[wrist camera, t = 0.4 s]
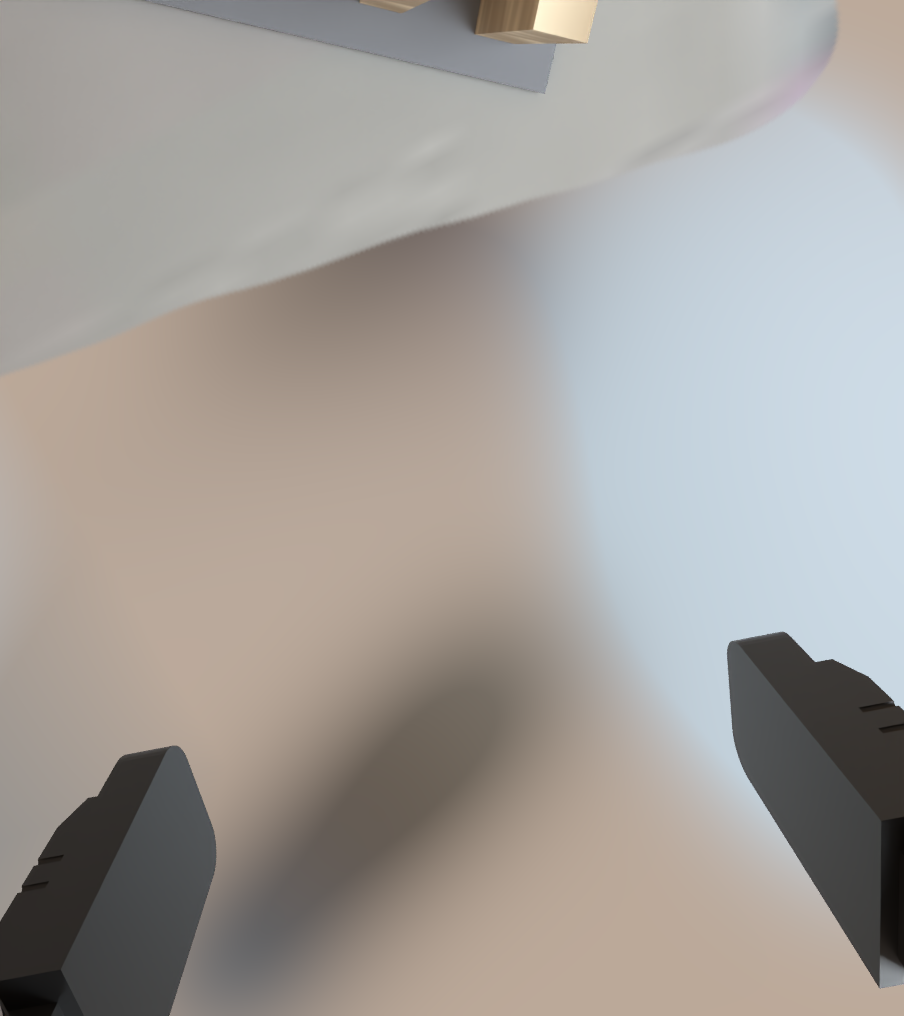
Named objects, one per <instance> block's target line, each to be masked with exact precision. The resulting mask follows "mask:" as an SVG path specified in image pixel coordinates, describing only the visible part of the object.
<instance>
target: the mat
mask: <svg viewBox="0 0 904 1016" xmlns="http://www.w3.org/2000/svg"><path fill="white" fill-rule="evenodd" d="M145 1H150V2H154V3H158V4H163V5H167V6H171V7H175V8H180V9H184V10H188V11H193V12H197V13H201V14H205V15H210V16H214V17H218V18H223V19H227V20H231V21H235V22H240V23H244V24H248V25H253V26H257V27H261V28H265V29H270V30H274V31H278V32H282V33H287V34H291V35H295V36H300V37H304V38H308V39H312V40H317V41H321V42H325V43H330V44H334V45H338V46H342V47H347V48H351V49H355V50H360V51H364V52H368V53H372V54H377V55H381V56H385V57H390V58H394V59H398V60H402V61H407V62H411V63H415V64H420V65H424V66H428V67H432V68H437V69H441V70H445V71H450V72H454V73H458V74H462V75H467V76H471V77H475V78H479V79H484V80H488V81H492V82H497V83H501V84H505V85H509V86H514V87H518V88H522V89H527V90H531V91H535V92H539V93H544V94H545V90H546V86H547V82H548V77H549V73H550V69H551V64H552V60H553V56H554V51H555V47H556V44H512V43H508V42H504V41H500V40H495V39H491V38H487V37H483V36H479V35H475V29H476V23H477V18H478V13H479V7H480V2H481V0H429V1H427V2H425V3H423V4H421V5H419V6H416V7H414V8H412V9H410V10H408V11H406V12H403V13H398V12H394V11H390V10H385V9H381V8H377V7H373V6H369V5H365V4H361V3H359V1H360V0H145Z"/></svg>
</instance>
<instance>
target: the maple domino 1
mask: <svg viewBox="0 0 904 1016" xmlns="http://www.w3.org/2000/svg"><path fill="white" fill-rule="evenodd" d="M427 1H429V0H360V1H359V3H361V4H365V5H369V6H373V7H377V8H381V9H385V10H390V11H394V12H398V13H403V12H406V11H408V10H410V9H412V8H414V7H416V6H419V5H421V4H423V3H425V2H427Z"/></svg>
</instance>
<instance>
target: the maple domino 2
mask: <svg viewBox="0 0 904 1016" xmlns="http://www.w3.org/2000/svg"><path fill="white" fill-rule="evenodd" d="M597 2H598V0H481V2H480V7H479V13H478V18H477V23H476V29H475V35H479V36H483V37H487V38H491V39H495V40H500V41H504V42H508V43H512V44H559V43H587V42H588V38H589V34H590V30H591V26H592V22H593V18H594V14H595V10H596V6H597Z"/></svg>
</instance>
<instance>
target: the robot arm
mask: <svg viewBox="0 0 904 1016" xmlns="http://www.w3.org/2000/svg"><path fill="white" fill-rule="evenodd" d="M727 659H728V674H729V687H730V701H731V715H732V729H733V736H734V742H735V746H736V750H737V753H738V756H739V759H740V762H741V764H742V767H743V769H744V771H745V773H746V775H747V777H748V779H749V780H750V782H751V783H752V785H753V786H754V788H755V790H756V791H757V793H758V795H759V796H760V798H761V799H762V801H763V803H764V804H765V806H766V807H767V809H768V811H769V812H770V814H771V815H772V817H773V819H774V820H775V822H776V823H777V825H778V827H779V828H780V830H781V831H782V833H783V835H784V836H785V838H786V839H787V841H788V843H789V844H790V846H791V847H792V849H793V850H794V852H795V854H796V855H797V857H798V859H799V860H800V862H801V863H802V865H803V867H804V868H805V870H806V871H807V873H808V875H809V876H810V878H811V879H812V881H813V882H814V884H815V886H816V887H817V889H818V891H819V892H820V894H821V895H822V897H823V899H824V900H825V902H826V903H827V905H828V907H829V908H830V910H831V911H832V913H833V915H834V916H835V918H836V919H837V921H838V923H839V924H840V926H841V927H842V929H843V931H844V932H845V934H846V935H847V937H848V939H849V940H850V942H851V943H852V945H853V947H854V948H855V950H856V951H857V953H858V954H859V956H860V958H861V959H862V961H863V963H864V964H865V966H866V967H867V969H868V971H869V972H870V974H871V975H872V977H873V979H874V980H875V982H876V983H877V985H878V986H879V988H885V987H891V986H896V985H902V984H904V710H903V709H902V708H900V707H899V706H895V704H894V701H893V700H892V699H891V698H890V697H889V696H888V695H887V694H886V693H885V692H884V691H883V690H881V688H880V687H879V686H878V685H876V684H875V683H874V682H873V681H872V680H871V679H870V678H869V677H868V676H866V675H864V674H862V673H859V672H857V671H855V670H853V669H851V668H849V667H847V666H845V665H843V664H841V663H839V662H837V661H835V660H833V659H831V660H825V661H820V662H814V661H813V660H812V658H810V657H809V655H808V654H807V653H806V652H805V651H804V650H803V649H802V648H801V647H800V646H799V645H798V644H797V643H796V642H795V641H794V640H793V639H792V638H791V637H790V636H789V635H788V634H787V633H785V632H778V633H772V634H767V635H762V636H757V637H751V638H746V639H741V640H736V641H732V642H730V643H729V645H728V649H727ZM215 865H216V841H215V835H214V830H213V827H212V824H211V821H210V819H209V816H208V813H207V811H206V808H205V805H204V803H203V800H202V797H201V795H200V792H199V789H198V787H197V784H196V781H195V779H194V776H193V773H192V771H191V768H190V765H189V763H188V760H187V758H186V755H185V753H184V752H183V750H182V749H181V748H180V747H178V746H169V747H164V748H160V749H154V750H148V751H143V752H138V753H132V754H127V755H124V756H122V757H121V758H120V759H119V760H118V762H117V763H116V765H115V767H114V768H113V770H112V772H111V774H110V775H109V777H108V779H107V781H106V782H105V784H104V786H103V788H102V789H101V791H100V793H99V795H98V796H97V797H92V798H88V799H87V800H86V801H85V802H84V803H82V804H81V805H80V806H79V807H78V808H77V809H76V810H75V811H74V812H73V813H72V814H71V815H70V816H69V817H68V818H67V819H66V820H65V821H64V822H63V823H62V824H61V825H60V826H59V827H58V828H57V829H56V831H55V832H54V834H53V836H52V837H51V839H50V841H49V842H48V844H47V846H46V847H45V849H44V850H43V852H42V854H41V855H40V857H39V859H38V865H36V866H34V867H33V869H32V870H31V872H30V873H29V875H28V877H27V878H26V880H25V882H24V883H23V885H22V892H21V893H17V895H16V897H15V898H14V900H13V901H12V903H11V905H10V906H9V908H8V910H7V911H6V913H5V914H4V916H3V918H2V919H1V921H0V1016H169V1015H170V1011H171V1008H172V1005H173V1002H174V999H175V996H176V992H177V989H178V986H179V983H180V980H181V977H182V973H183V970H184V967H185V964H186V961H187V958H188V954H189V951H190V948H191V945H192V942H193V939H194V936H195V932H196V929H197V926H198V923H199V919H200V916H201V913H202V910H203V907H204V904H205V901H206V898H207V895H208V891H209V888H210V885H211V882H212V878H213V875H214V871H215Z"/></svg>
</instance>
